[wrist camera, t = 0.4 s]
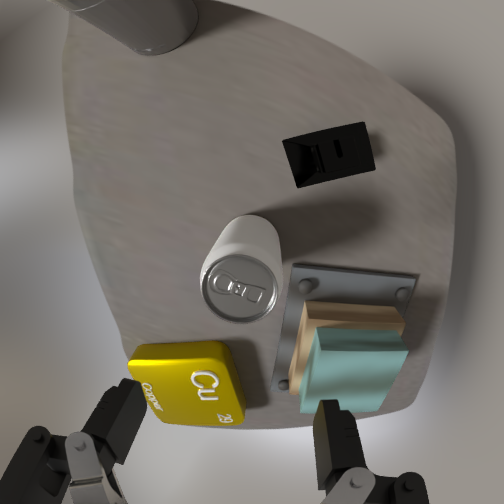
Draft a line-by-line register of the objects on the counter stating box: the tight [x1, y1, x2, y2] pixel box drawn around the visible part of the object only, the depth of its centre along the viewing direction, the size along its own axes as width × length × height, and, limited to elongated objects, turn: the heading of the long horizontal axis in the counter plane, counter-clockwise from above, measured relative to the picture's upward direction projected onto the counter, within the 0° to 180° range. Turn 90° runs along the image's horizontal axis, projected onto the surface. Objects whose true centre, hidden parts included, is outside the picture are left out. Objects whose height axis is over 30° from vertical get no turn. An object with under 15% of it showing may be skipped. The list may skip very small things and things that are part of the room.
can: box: [200, 215, 283, 324], centre depth 25 cm, size 6×6×12 cm
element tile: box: [127, 340, 246, 426], centre depth 37 cm, size 15×15×5 cm
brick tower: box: [270, 264, 416, 413], centre depth 30 cm, size 20×16×9 cm
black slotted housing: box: [282, 122, 376, 188], centre depth 26 cm, size 12×7×5 cm, turn 107°
